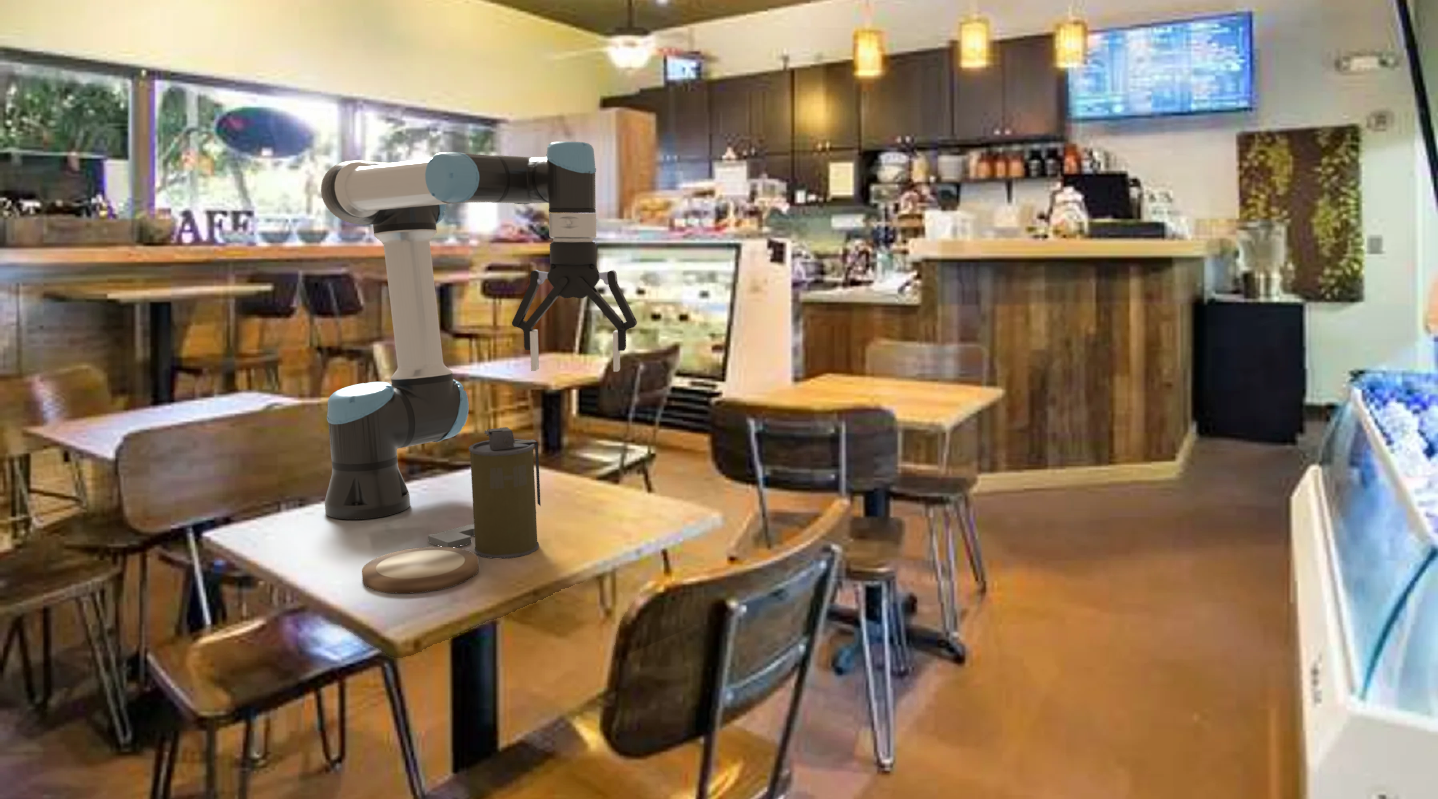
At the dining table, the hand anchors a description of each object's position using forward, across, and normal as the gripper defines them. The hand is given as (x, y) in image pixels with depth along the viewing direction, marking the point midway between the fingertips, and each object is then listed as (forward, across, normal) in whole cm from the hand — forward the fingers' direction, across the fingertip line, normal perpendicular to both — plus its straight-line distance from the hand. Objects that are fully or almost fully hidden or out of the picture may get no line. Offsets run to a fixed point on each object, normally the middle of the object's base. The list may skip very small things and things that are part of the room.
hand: (575, 370), depth 165 cm
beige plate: (+29, -21, -19) cm, 40 cm away
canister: (+29, -11, -7) cm, 31 cm away
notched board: (+29, -19, -1) cm, 34 cm away
